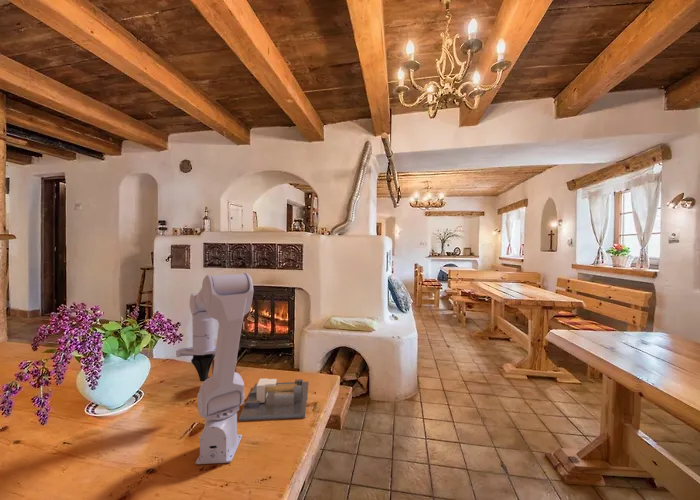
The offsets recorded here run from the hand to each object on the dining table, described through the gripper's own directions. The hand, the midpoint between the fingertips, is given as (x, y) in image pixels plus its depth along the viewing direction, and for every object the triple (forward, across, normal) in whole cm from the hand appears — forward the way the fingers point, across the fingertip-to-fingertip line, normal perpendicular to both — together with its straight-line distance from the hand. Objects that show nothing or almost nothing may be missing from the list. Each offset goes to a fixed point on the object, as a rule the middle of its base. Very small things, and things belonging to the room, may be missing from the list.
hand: (203, 379), depth 87 cm
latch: (+9, -17, -5) cm, 20 cm away
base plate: (+10, -20, -6) cm, 24 cm away
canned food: (+11, 0, -18) cm, 21 cm away
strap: (+6, -22, -5) cm, 24 cm away
